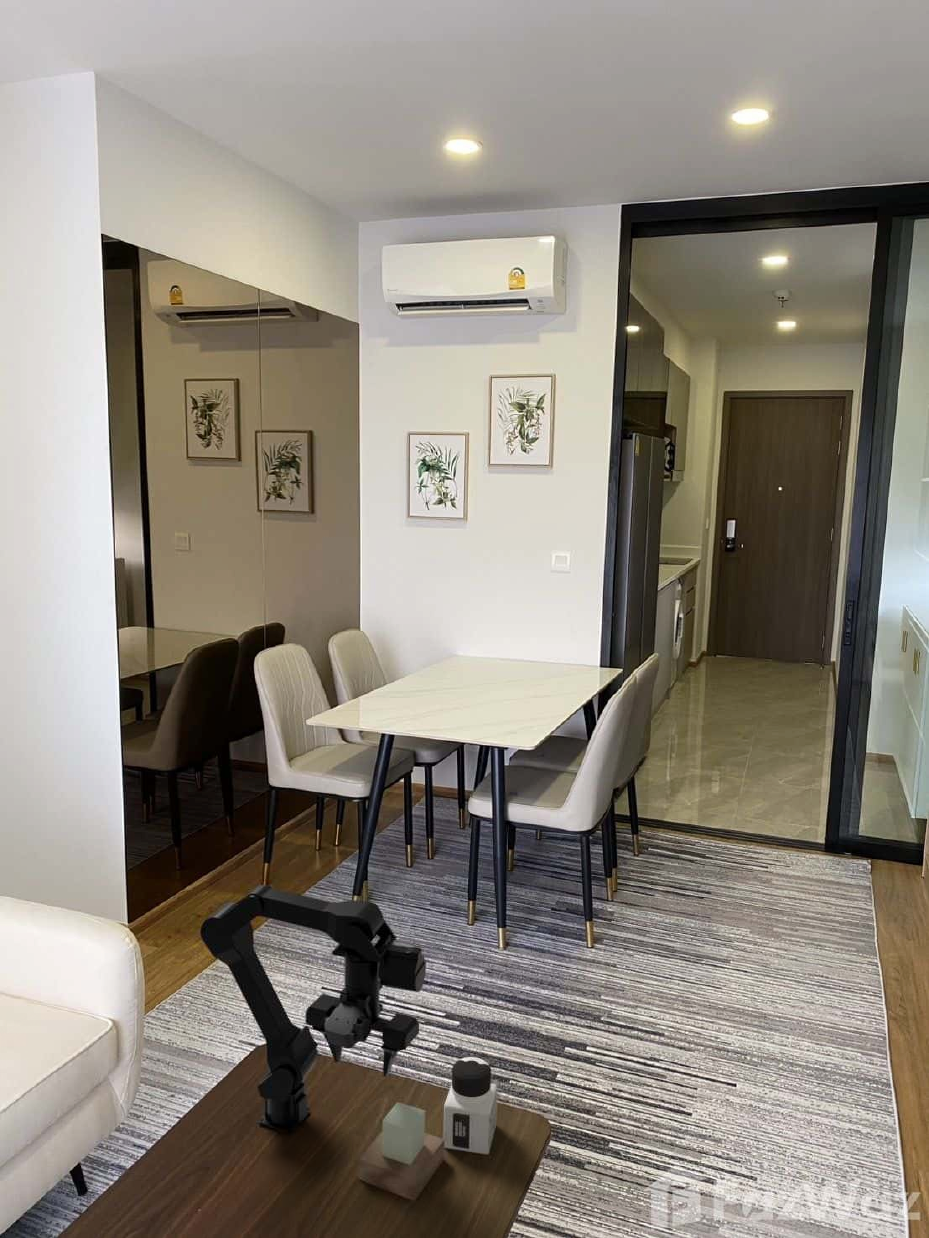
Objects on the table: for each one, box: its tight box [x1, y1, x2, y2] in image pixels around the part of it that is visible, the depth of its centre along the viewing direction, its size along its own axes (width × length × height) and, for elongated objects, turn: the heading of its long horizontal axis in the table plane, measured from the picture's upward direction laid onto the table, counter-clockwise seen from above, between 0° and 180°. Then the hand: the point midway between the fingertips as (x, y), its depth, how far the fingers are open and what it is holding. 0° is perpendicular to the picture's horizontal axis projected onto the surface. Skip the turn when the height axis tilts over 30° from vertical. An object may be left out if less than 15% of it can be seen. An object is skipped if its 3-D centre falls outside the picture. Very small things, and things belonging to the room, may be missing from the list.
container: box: [442, 1056, 498, 1155], centre depth 155 cm, size 8×8×13 cm
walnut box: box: [358, 1131, 445, 1202], centre depth 148 cm, size 10×10×4 cm
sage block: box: [381, 1101, 426, 1165], centre depth 147 cm, size 5×5×6 cm
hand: (361, 1068), depth 154 cm, fingers open, 9 cm apart
